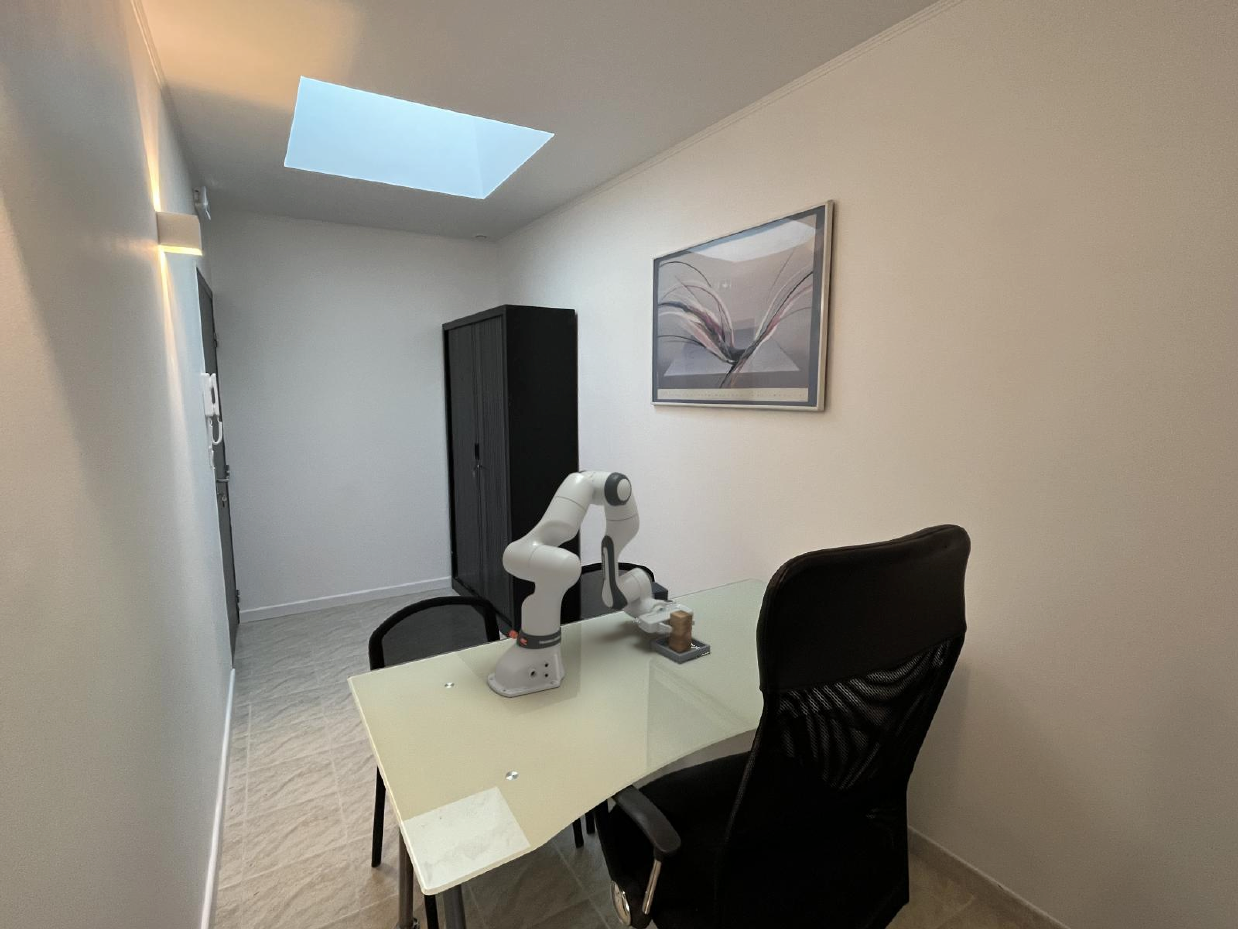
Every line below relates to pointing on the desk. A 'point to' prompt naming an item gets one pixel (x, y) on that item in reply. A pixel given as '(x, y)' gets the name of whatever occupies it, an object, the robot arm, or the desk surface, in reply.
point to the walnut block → (680, 631)
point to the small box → (659, 592)
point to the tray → (663, 648)
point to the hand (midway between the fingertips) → (682, 626)
